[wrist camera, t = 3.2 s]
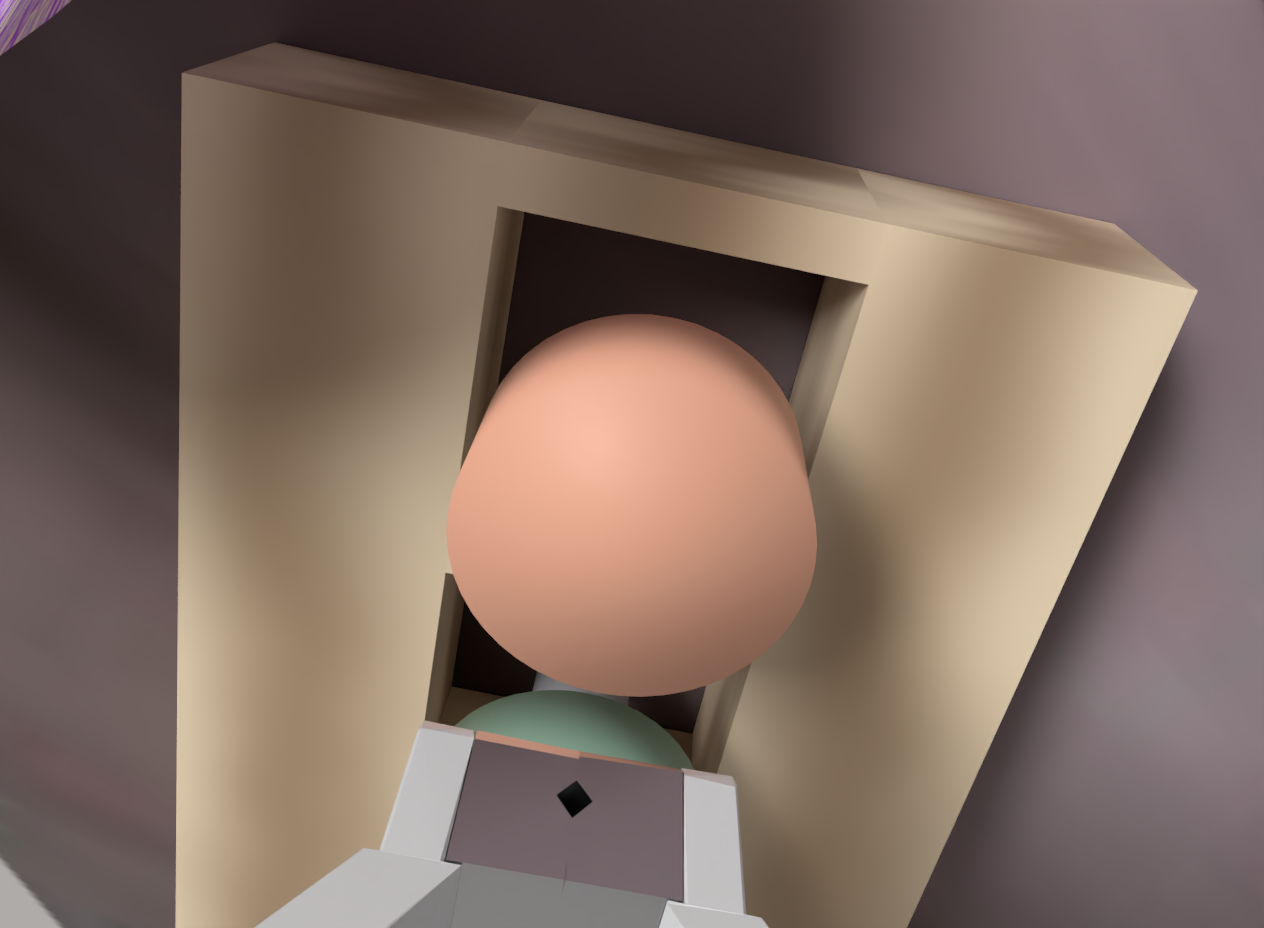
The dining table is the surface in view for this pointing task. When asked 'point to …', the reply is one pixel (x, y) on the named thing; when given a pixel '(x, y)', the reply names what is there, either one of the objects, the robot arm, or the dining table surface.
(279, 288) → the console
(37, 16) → the bowl of food
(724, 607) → the button terracotta
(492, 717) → the button green
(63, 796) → the dining table surface
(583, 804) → the robot arm
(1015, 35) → the dining table surface
